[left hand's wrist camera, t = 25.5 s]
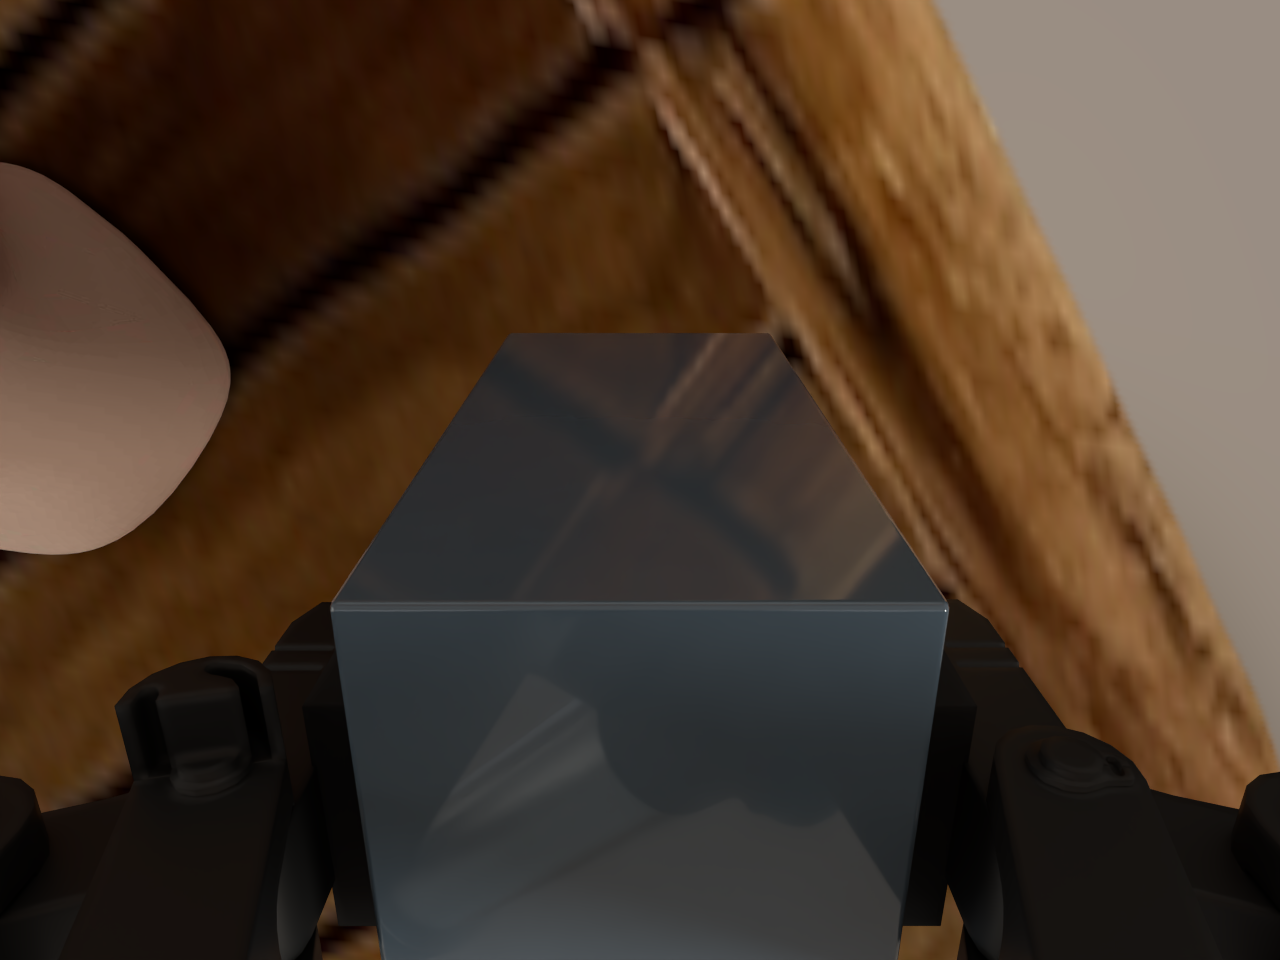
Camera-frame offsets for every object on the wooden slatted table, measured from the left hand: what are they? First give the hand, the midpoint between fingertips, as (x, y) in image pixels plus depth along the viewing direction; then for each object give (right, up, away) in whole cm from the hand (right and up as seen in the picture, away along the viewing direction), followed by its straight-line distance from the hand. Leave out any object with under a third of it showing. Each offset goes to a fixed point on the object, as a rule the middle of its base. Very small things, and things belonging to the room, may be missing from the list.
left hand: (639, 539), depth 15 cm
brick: (0, +1, +2) cm, 2 cm away
